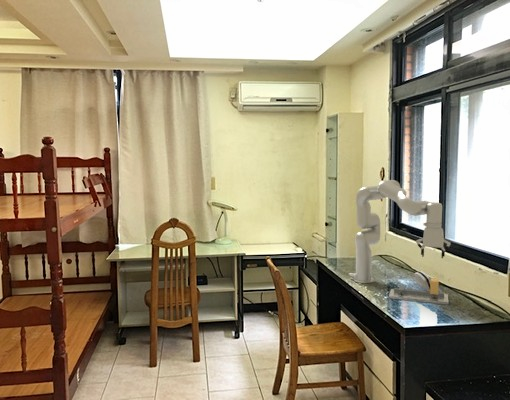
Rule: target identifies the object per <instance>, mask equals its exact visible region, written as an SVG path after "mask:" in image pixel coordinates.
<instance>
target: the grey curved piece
mask: <svg viewBox="0 0 510 400" xmlns="http://www.w3.org/2000/svg"><path fill="white" fill-rule="evenodd" d="M413 275H414V278H415V281H416V284H417V285H418V286H421V288H423V289H425V291H430V282H431V277H430V276H429V275H428V274H427V273H425V272H424V271H422V270H420V271H417V272H414V274H413Z"/></svg>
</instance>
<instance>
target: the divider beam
mask: <svg viewBox="0 0 510 400" xmlns="http://www.w3.org/2000/svg"><path fill="white" fill-rule="evenodd" d="M393 289H394V292H397V293H399V294H400V295H403V294H404V293H407V294H417V295H427V296H433V294H430V291H427V290H420V289H410V288H409V289H408V288H405V285H403V286H402V285H399V287H394V288H393ZM444 294H445V292H441V291H438V295H436V294H435V296H437V297H444Z"/></svg>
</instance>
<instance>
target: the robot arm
mask: <svg viewBox="0 0 510 400" xmlns="http://www.w3.org/2000/svg"><path fill="white" fill-rule="evenodd" d="M385 198H388V199H390V200H392V201H393V202H395V203H396V205H397V206H398V208H399V209H401V210H402V211H403V212H405V213H407V214H408V215H411V216H415V217H416V216H425V215H426V222H423V226H425V227H424V230H423V237H422V238H419V239H416V241H415V243H416V244H417V247H419V249H420V255H421V256H422V258H423V257H424V256H425V248H426V247H427V248H438V249H439V248H440V249H441V259H443V258H444V257H445V252H446V251H447V250H448V249H449V248H450V246H451V244H452V243H451V241H448V240H446V239H445V238H444V235H445V234H444V228H442V225H443V224H442V222H443V221H442V219H443V205H442V204H443V203H440V202H435V201H434V202H431V201H427V200H419V201H414V200H413V199H410V198H408V197H407V191H406V189H404V188H402V187H401V185H400V182H399V181H397V180H395V179H387V180H385V179H384V180H382V181H380V182H379V183H378V184H377V185H369V186H363V187H361V188H359V189H358V190H357V191H356V194H355V204H356V226H357V227H358V228H359V229H362V230H361V231H358V232H357V233H356V234H355V236H354V245H355V272H354V273H352V272H349V273H348V276H349V277H350V278H352V277H353V279H352V280H353V281H354V282H356V283H359V284H371V283H374V282H375V279H374V278H373V277H372V264H373V263H372V257H373V256H372V250H371V247H370V246H373V245H376V244H378V243H379V242H380V240H381V219H380V216H379V214H377V213H376V212H372V211H371V210H372V207H371V204H370V202H369V201H375V200H381V199H385ZM364 229H365V230H364ZM420 242H422V244H421V243H420ZM444 243H445V244H446V245H445V246H444Z"/></svg>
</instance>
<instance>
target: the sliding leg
mask: <svg viewBox="0 0 510 400" xmlns="http://www.w3.org/2000/svg"><path fill="white" fill-rule="evenodd" d="M430 280H431V282H430V294H433V298H435V294H436V295H438V292H439V282H440V281H439V277H438V278H436V277H430Z"/></svg>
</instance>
